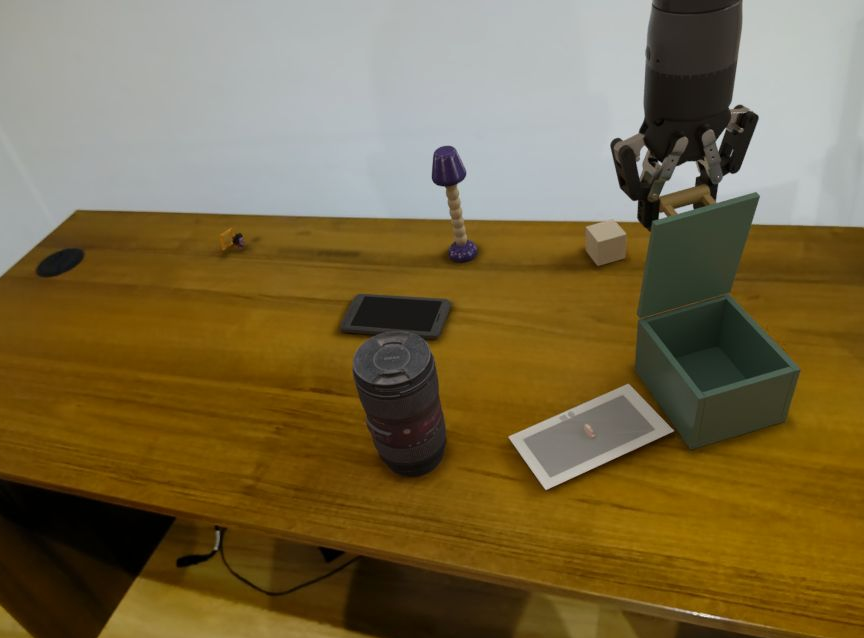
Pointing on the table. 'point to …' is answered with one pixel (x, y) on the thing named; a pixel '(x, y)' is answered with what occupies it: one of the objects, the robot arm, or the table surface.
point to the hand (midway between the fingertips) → (675, 219)
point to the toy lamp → (453, 199)
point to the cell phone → (396, 315)
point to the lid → (694, 249)
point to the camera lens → (401, 401)
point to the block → (605, 242)
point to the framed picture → (232, 239)
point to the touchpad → (589, 435)
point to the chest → (714, 370)
